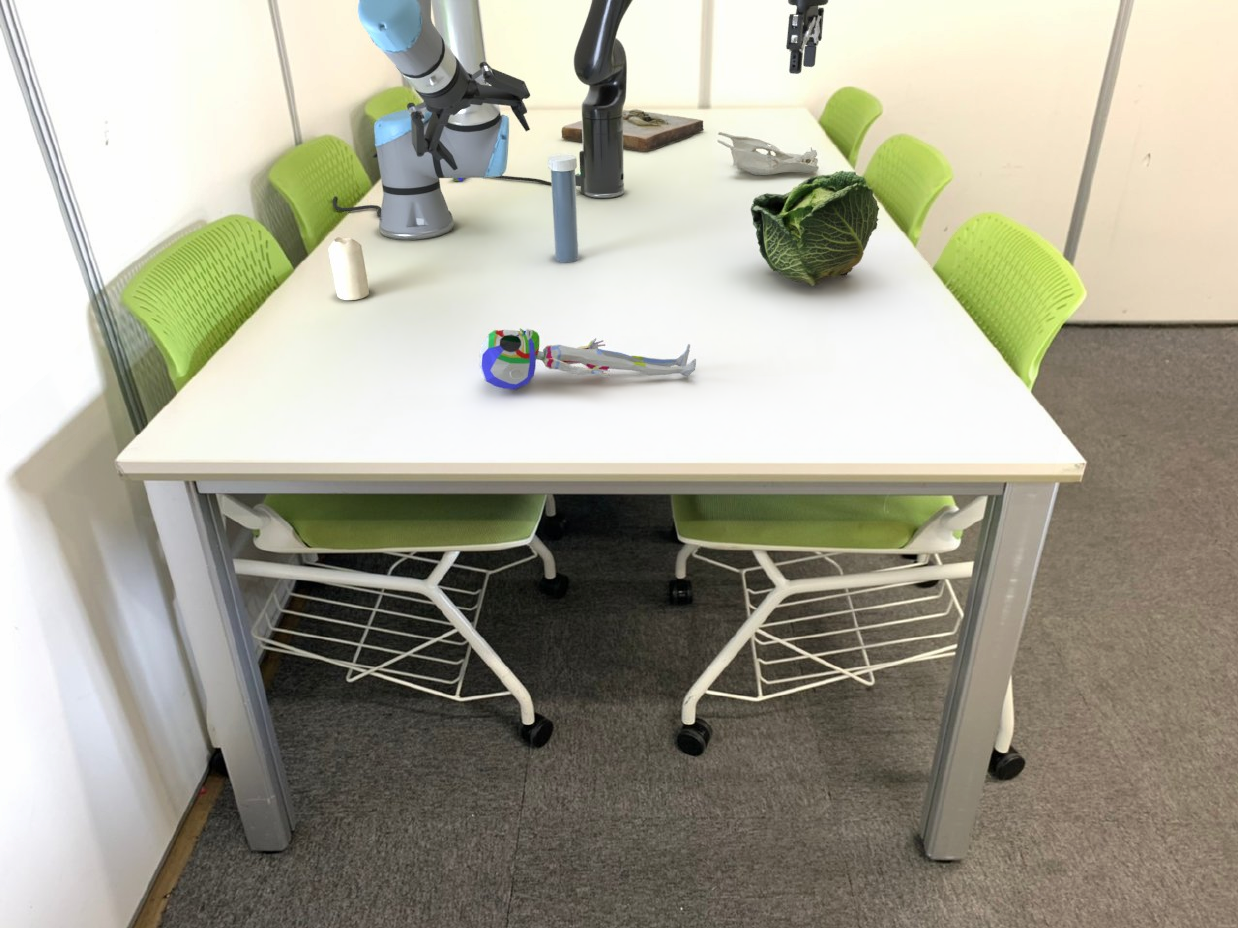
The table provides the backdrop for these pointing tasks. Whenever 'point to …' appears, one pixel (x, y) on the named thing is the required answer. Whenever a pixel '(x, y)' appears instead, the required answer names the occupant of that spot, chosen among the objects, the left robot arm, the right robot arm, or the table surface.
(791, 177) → the table surface
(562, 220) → the blue slim bottle
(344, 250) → the candle
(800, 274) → the vegetable
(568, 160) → the lid
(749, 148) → the anatomical model
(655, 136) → the plaque
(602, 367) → the toy
